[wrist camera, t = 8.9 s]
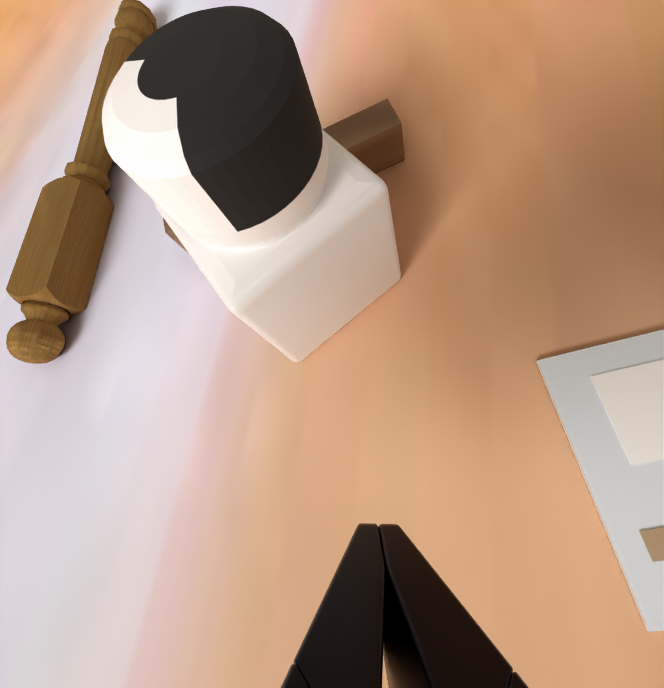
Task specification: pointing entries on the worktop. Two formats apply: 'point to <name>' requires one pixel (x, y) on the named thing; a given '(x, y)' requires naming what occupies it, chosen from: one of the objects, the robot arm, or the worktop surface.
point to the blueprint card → (620, 450)
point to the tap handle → (71, 216)
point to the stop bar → (363, 140)
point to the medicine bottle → (252, 175)
